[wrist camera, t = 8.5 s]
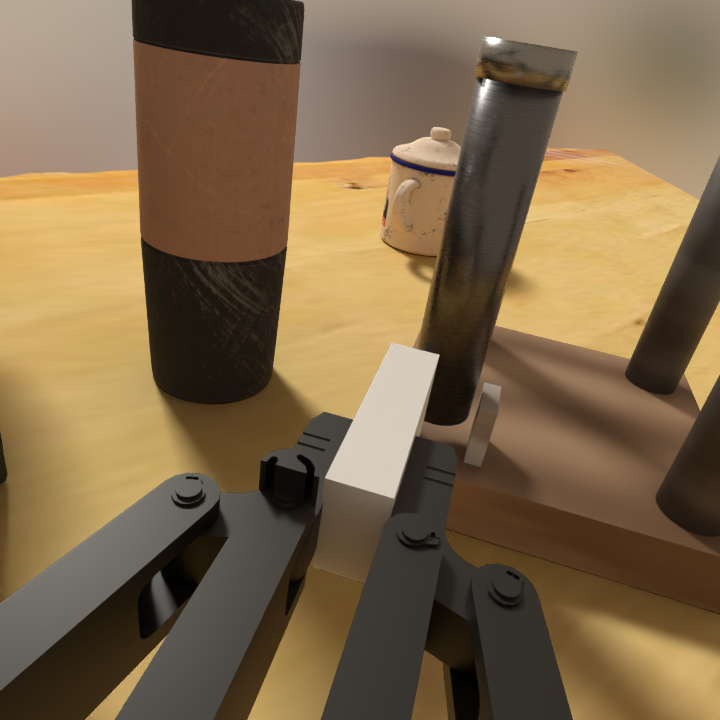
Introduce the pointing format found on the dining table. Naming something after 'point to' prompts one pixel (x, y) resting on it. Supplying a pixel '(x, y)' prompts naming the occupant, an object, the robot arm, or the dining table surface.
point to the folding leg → (488, 212)
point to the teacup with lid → (420, 193)
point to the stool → (604, 442)
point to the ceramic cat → (2, 464)
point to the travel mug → (215, 186)
